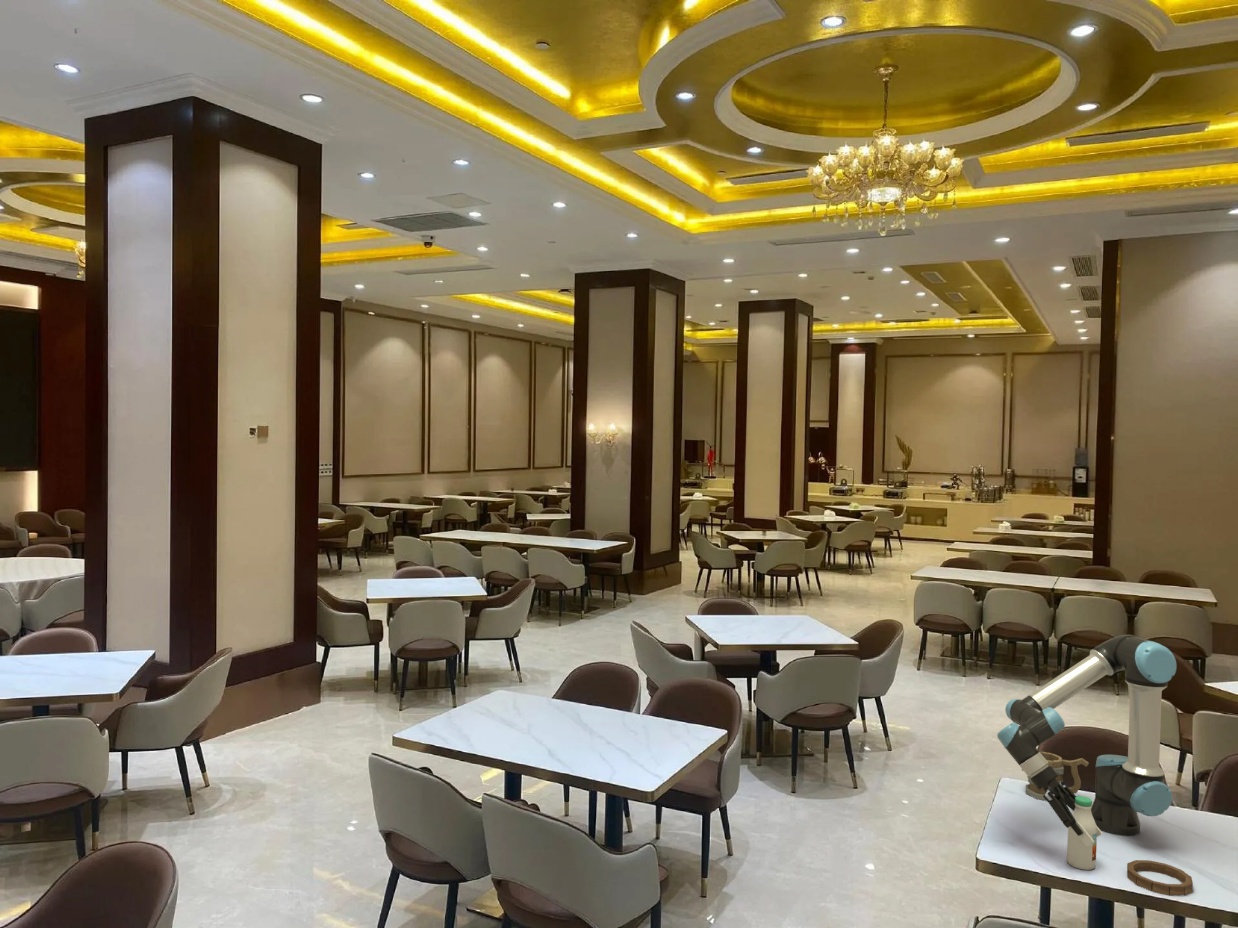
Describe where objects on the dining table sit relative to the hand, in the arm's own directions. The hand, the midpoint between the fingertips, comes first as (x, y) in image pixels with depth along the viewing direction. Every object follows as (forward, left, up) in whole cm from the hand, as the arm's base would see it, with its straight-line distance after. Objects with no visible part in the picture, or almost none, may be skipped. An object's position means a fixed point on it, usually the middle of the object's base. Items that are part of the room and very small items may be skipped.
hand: (1094, 839), depth 265 cm
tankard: (-57, -12, -9) cm, 59 cm away
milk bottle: (-1, -3, -9) cm, 10 cm away
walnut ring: (-1, +17, -9) cm, 19 cm away
